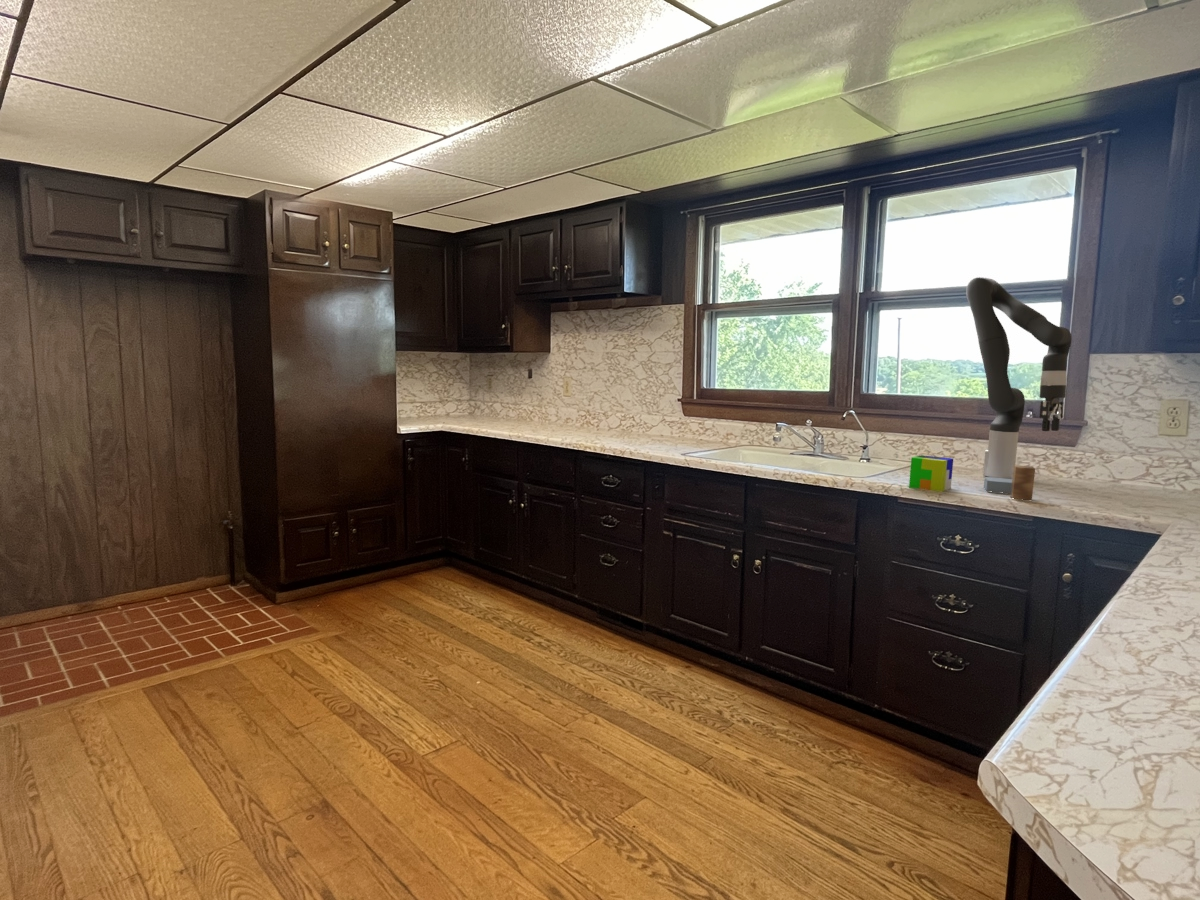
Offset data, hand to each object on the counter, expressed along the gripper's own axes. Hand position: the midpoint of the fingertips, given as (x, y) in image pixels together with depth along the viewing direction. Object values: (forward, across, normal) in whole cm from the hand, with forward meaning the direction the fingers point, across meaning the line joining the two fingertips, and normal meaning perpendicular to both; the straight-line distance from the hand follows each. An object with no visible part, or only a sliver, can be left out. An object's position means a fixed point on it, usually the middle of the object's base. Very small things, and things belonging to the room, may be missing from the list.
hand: (1050, 430), depth 235 cm
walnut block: (+20, +40, +6) cm, 45 cm away
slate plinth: (+20, +30, -3) cm, 36 cm away
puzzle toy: (+19, +46, -19) cm, 53 cm away
